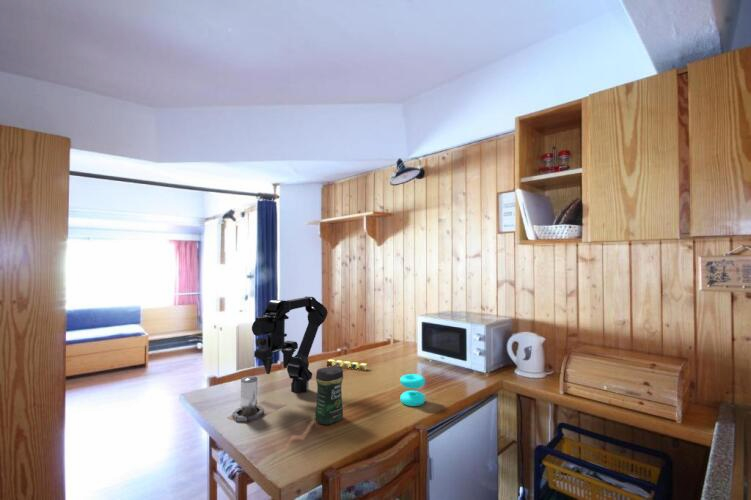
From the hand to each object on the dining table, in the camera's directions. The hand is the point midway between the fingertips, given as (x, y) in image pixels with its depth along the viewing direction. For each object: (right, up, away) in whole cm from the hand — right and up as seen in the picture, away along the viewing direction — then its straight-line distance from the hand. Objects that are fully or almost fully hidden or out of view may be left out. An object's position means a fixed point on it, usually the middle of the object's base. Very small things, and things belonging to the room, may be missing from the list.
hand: (276, 370), depth 137 cm
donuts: (+54, -13, +1) cm, 56 cm away
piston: (-6, -11, -13) cm, 19 cm away
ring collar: (-6, -11, -14) cm, 19 cm away
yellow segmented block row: (+24, -16, +45) cm, 54 cm away
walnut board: (-4, -13, -10) cm, 16 cm away
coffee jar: (+23, -13, -15) cm, 30 cm away
